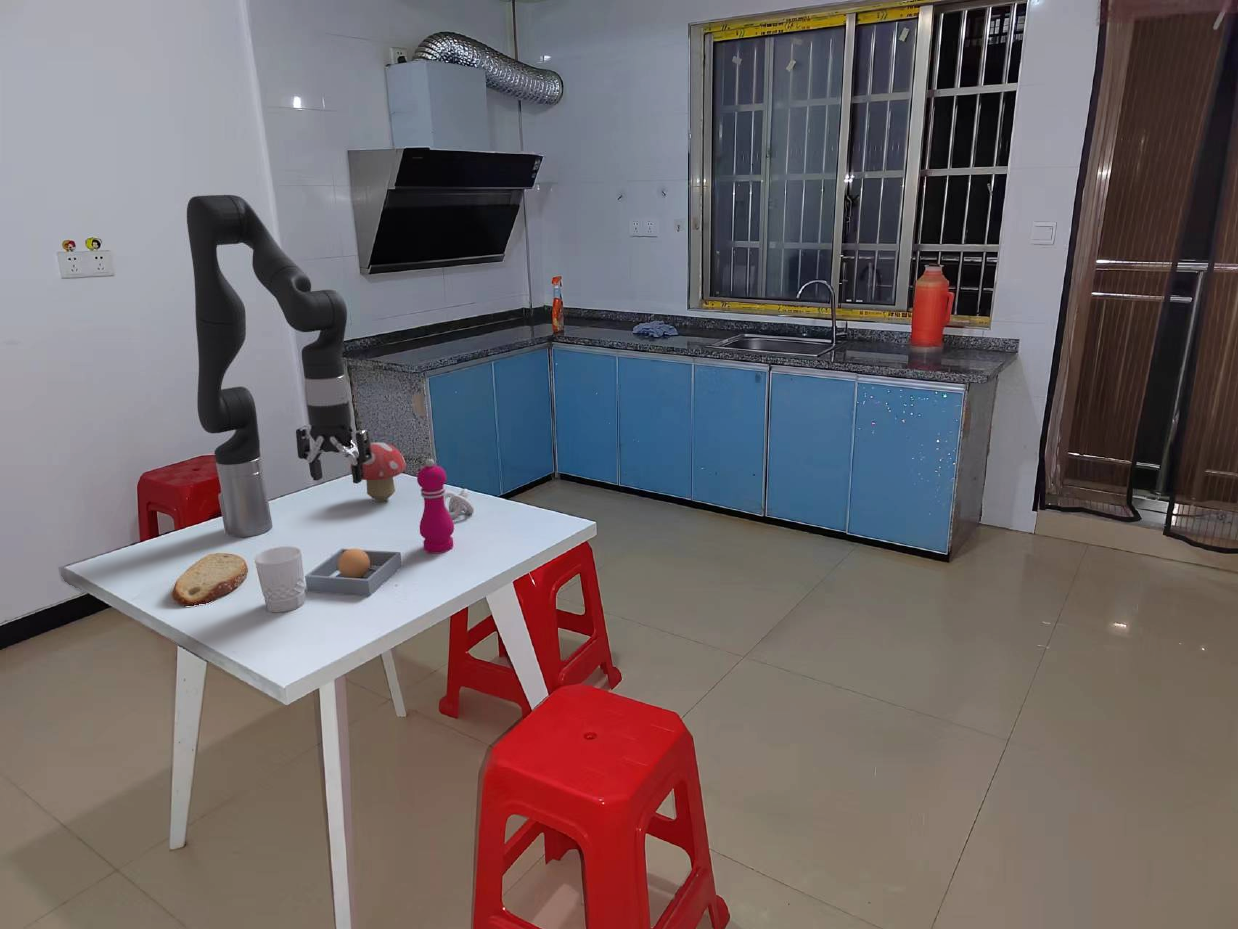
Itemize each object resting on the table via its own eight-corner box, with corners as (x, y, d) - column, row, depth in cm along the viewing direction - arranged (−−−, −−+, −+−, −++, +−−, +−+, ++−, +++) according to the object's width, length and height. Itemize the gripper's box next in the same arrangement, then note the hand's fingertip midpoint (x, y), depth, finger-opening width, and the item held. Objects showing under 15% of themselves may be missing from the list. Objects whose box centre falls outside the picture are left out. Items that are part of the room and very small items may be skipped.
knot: (445, 523, 183) (443, 500, 182) (436, 512, 190) (433, 490, 188) (476, 517, 187) (474, 494, 185) (466, 507, 193) (464, 484, 192)
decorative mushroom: (420, 496, 202) (414, 439, 197) (381, 513, 191) (374, 453, 186) (383, 488, 208) (376, 433, 204) (343, 504, 197) (335, 447, 193)
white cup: (263, 617, 142) (254, 567, 138) (263, 599, 148) (254, 550, 145) (309, 608, 144) (301, 558, 141) (307, 591, 151) (300, 543, 148)
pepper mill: (462, 546, 170) (454, 458, 164) (434, 557, 165) (424, 466, 159) (443, 538, 175) (434, 452, 169) (415, 548, 170) (405, 459, 164)
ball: (333, 583, 154) (330, 555, 152) (349, 569, 159) (346, 542, 158) (361, 585, 153) (358, 557, 151) (377, 572, 158) (373, 544, 156)
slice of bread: (227, 557, 169) (223, 541, 167) (277, 576, 159) (274, 559, 158) (140, 590, 154) (136, 573, 153) (190, 613, 145) (186, 595, 144)
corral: (307, 591, 151) (304, 576, 150) (343, 562, 164) (341, 548, 163) (370, 596, 149) (368, 580, 148) (402, 566, 161) (400, 552, 160)
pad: (323, 587, 153) (323, 586, 153) (347, 567, 161) (347, 566, 161) (365, 590, 151) (365, 589, 151) (387, 570, 159) (387, 569, 159)
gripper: (281, 402, 145) (293, 485, 150) (351, 405, 143) (361, 489, 148) (304, 393, 152) (315, 472, 157) (372, 396, 149) (381, 476, 155)
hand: (338, 480), depth 153 cm, fingers open, 8 cm apart
